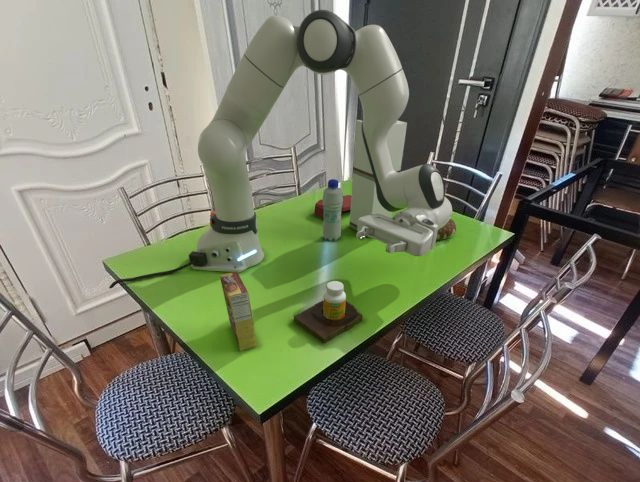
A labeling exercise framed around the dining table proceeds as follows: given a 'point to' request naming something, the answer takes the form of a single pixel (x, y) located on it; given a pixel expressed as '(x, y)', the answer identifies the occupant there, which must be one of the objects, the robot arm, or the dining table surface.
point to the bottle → (332, 210)
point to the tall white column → (363, 178)
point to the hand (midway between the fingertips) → (372, 243)
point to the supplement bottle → (334, 301)
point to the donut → (446, 230)
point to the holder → (326, 322)
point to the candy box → (239, 310)
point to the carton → (320, 208)
